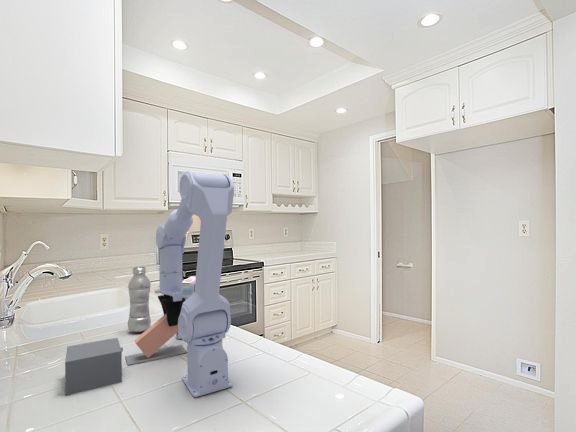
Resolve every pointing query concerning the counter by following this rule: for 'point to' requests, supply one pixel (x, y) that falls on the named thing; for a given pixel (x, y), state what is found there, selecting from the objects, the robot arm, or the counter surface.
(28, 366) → the counter surface
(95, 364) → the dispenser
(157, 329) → the tall peach block
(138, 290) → the plastic bottle
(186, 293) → the candy box
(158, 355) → the pad
